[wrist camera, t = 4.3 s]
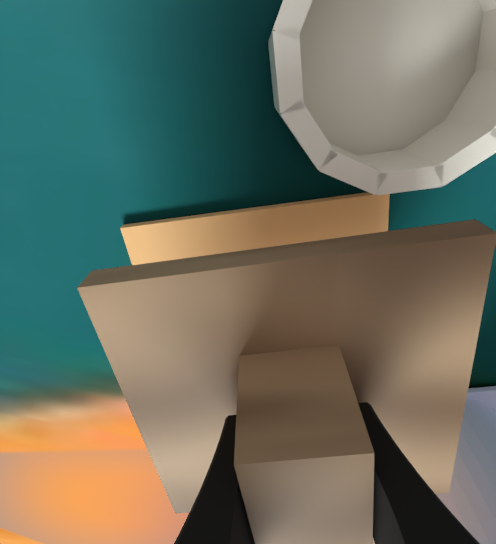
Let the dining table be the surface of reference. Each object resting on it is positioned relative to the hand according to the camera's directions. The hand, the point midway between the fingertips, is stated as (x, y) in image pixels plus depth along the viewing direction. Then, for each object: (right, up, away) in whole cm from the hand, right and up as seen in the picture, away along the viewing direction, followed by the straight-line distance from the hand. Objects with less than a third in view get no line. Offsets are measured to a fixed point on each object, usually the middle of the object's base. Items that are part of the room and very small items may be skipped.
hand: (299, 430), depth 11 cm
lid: (0, +1, +2) cm, 2 cm away
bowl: (+4, +14, +3) cm, 15 cm away
